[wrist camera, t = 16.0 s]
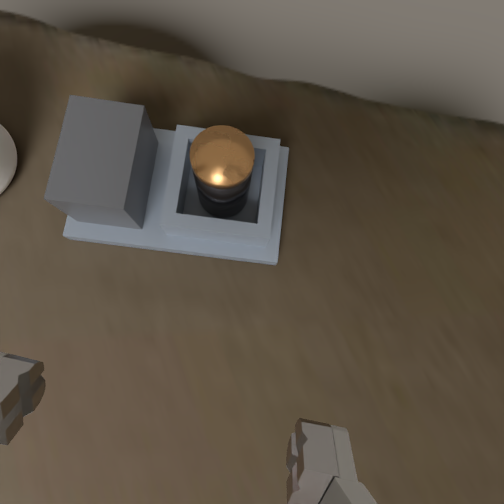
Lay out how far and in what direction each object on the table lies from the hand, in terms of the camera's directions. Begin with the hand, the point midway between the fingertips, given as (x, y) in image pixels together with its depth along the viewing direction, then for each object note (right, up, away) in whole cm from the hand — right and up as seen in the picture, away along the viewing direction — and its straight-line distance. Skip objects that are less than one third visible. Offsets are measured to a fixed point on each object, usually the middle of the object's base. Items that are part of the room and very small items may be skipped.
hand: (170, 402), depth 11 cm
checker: (-4, +11, +24) cm, 27 cm away
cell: (0, +10, +22) cm, 25 cm away
